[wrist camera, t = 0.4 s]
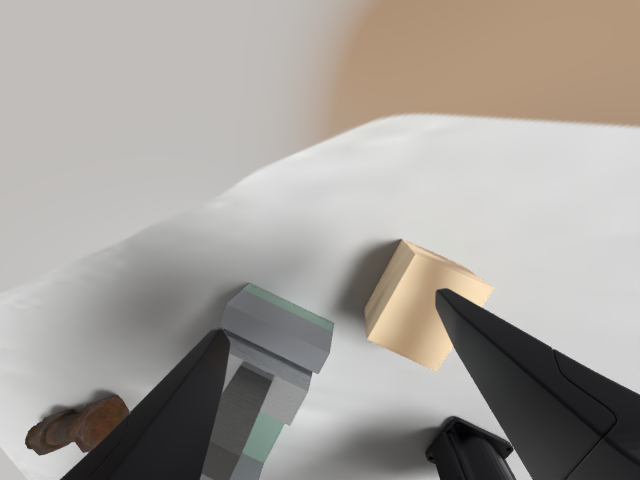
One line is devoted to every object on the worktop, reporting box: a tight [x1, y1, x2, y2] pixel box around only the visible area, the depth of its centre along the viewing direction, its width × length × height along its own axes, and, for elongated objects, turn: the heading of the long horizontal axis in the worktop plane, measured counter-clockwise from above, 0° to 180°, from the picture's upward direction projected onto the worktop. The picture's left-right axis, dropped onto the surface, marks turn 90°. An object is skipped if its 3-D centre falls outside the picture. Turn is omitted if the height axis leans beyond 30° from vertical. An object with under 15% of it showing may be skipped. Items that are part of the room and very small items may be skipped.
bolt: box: [25, 396, 129, 456], centre depth 31 cm, size 6×5×15 cm
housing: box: [364, 239, 495, 371], centre depth 20 cm, size 6×8×5 cm
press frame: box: [200, 283, 334, 480], centre depth 23 cm, size 10×24×8 cm, turn 157°
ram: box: [202, 329, 312, 480], centre depth 19 cm, size 9×4×10 cm, turn 67°
